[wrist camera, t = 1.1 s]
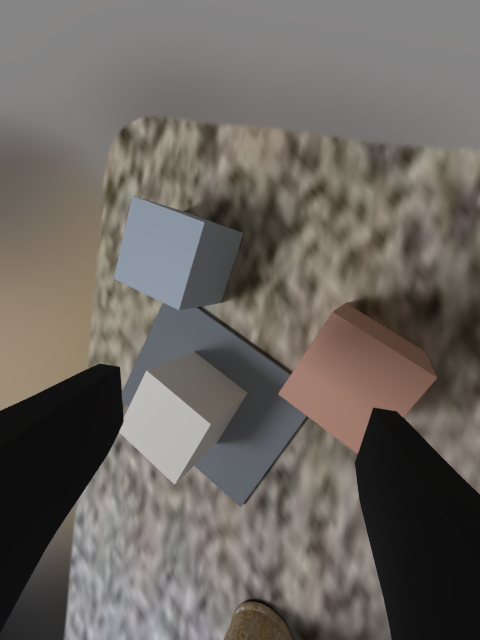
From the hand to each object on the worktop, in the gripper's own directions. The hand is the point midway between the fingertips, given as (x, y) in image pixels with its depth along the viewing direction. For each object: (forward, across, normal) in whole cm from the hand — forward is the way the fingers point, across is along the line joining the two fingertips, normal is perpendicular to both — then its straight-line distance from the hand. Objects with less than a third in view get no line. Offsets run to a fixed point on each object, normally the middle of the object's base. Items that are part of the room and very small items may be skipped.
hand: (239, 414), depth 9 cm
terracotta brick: (+9, -6, +3) cm, 11 cm away
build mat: (+11, +3, +8) cm, 14 cm away
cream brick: (+10, +3, +8) cm, 13 cm away
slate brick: (+13, +4, -1) cm, 14 cm away
